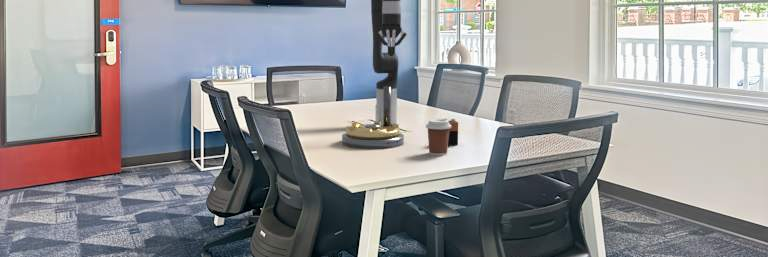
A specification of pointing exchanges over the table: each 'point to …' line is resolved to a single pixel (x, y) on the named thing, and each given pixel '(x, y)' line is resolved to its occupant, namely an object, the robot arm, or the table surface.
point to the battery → (453, 132)
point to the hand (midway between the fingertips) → (391, 56)
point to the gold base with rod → (376, 124)
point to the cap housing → (373, 142)
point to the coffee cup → (438, 136)
